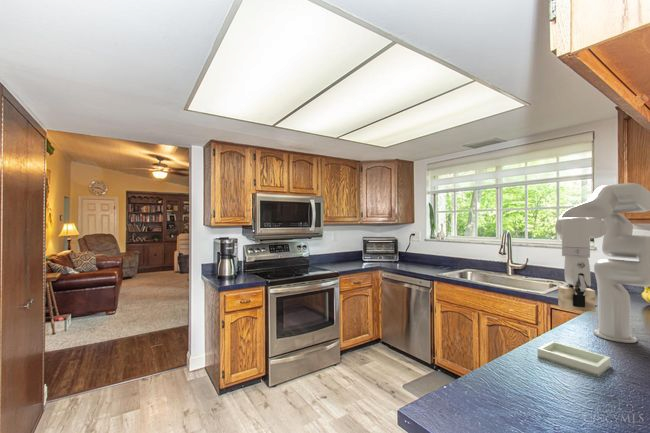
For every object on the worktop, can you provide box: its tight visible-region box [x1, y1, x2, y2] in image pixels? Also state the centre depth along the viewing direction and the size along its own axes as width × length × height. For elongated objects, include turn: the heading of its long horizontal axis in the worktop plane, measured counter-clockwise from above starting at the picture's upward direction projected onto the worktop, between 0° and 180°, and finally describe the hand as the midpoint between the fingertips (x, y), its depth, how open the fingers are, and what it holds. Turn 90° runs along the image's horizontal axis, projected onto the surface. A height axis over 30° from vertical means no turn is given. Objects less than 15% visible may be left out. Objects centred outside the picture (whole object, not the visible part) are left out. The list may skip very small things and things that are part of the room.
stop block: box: [557, 285, 596, 313], centre depth 104 cm, size 9×4×7 cm, turn 66°
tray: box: [536, 340, 612, 378], centre depth 100 cm, size 12×16×3 cm
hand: (576, 304), depth 104 cm, fingers closed on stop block, 4 cm apart
